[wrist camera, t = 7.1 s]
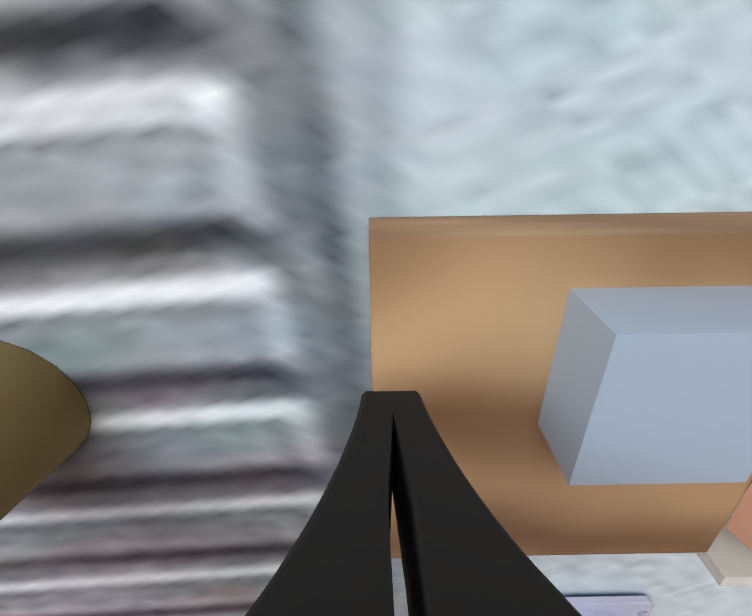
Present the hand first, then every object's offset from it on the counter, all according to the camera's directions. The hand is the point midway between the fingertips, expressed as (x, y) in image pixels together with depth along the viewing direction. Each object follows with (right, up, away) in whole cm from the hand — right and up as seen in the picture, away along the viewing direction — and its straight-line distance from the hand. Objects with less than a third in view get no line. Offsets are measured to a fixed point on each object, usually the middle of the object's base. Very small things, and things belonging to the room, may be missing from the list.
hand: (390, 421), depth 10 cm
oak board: (+7, 0, +5) cm, 8 cm away
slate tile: (+8, +1, +2) cm, 8 cm away
